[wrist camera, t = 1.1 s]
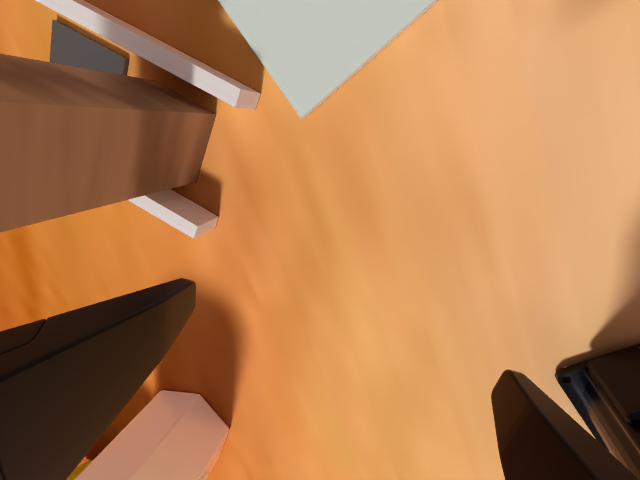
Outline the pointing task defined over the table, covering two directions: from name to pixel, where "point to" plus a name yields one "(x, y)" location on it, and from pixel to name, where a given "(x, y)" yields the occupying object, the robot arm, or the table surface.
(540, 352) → the table surface
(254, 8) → the plate
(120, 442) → the jar
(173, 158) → the post
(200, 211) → the channel
